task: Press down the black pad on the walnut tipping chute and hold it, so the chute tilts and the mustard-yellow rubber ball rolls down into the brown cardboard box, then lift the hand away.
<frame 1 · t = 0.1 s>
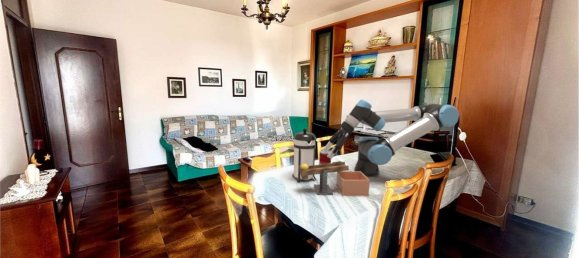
hand: (326, 154, 136), 15 cm above the table, tool tilted 35°, fingers open, 13 cm apart
coffee press: (302, 178, 142), on the table
ball: (304, 167, 122), point 12 cm above the table, tilted 10°, touching tipping chute
tipping chute: (322, 167, 125), point 11 cm above the table, hinge at -7.0°, touching ball
chute stand: (322, 190, 124), on the table
brown cardboard box: (351, 190, 125), on the table
canned food: (324, 167, 162), on the table
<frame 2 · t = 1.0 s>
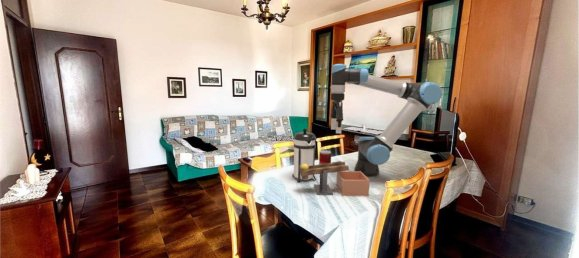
hand: (335, 131, 136), 29 cm above the table, tool pointing down, fingers open, 12 cm apart
nothing on the table moved.
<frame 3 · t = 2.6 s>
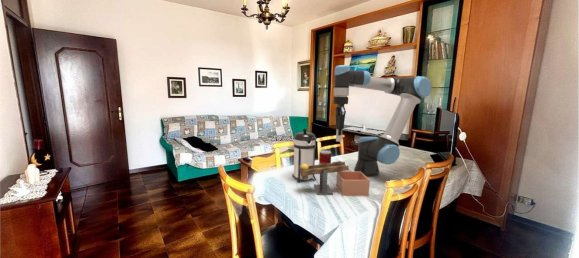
hand: (338, 141, 127), 25 cm above the table, tool pointing down, fingers closed
nothing on the table moved.
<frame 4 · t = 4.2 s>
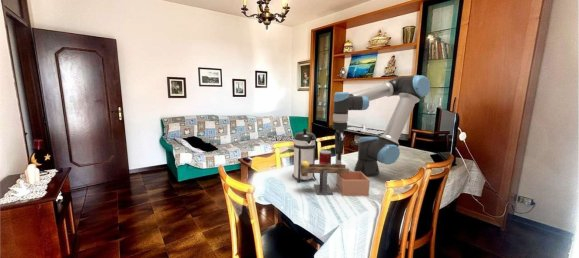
hand: (338, 165, 129), 12 cm above the table, tool pointing down, fingers closed
ball: (305, 164, 122), point 14 cm above the table, touching tipping chute
tipping chute: (322, 167, 125), point 11 cm above the table, hinge at 1.4°, touching ball, gripper
everything else where it was.
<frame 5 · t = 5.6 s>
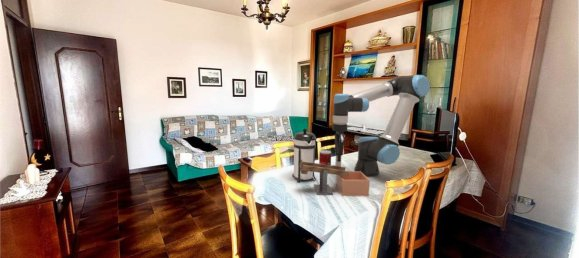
hand: (338, 166, 129), 11 cm above the table, tool pointing down, fingers closed
ball: (344, 184, 124), point 3 cm above the table, tilted 172°, touching brown cardboard box
tipping chute: (322, 167, 125), point 11 cm above the table, hinge at 7.9°, touching gripper
everything else where it was.
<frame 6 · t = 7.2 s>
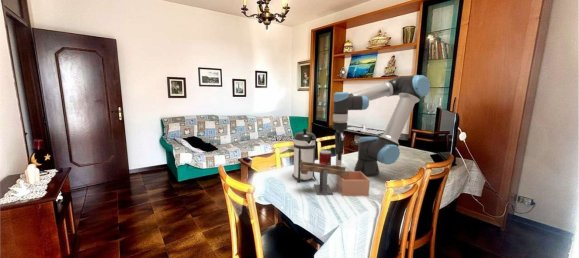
hand: (338, 165, 129), 12 cm above the table, tool pointing down, fingers closed
ball: (349, 184, 124), point 3 cm above the table, tilted 108°, touching brown cardboard box
tipping chute: (322, 167, 125), point 11 cm above the table, hinge at 7.9°
everything else where it was.
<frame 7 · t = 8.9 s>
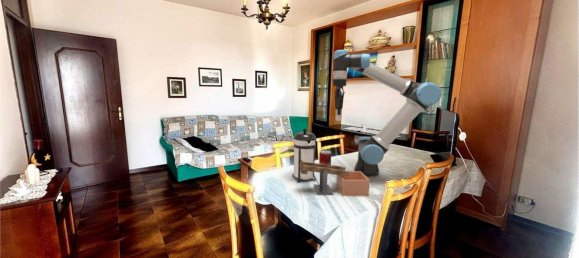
hand: (338, 120, 139), 34 cm above the table, tool pointing down, fingers closed
ball: (353, 184, 124), point 3 cm above the table, tilted 39°, touching brown cardboard box
everything else where it was.
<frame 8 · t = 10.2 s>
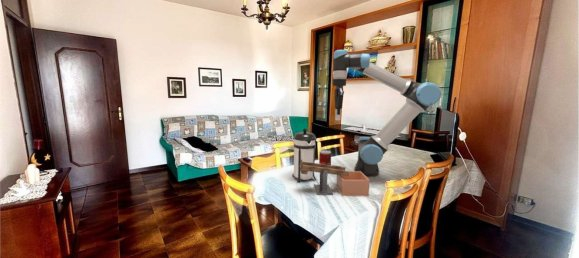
hand: (337, 120, 139), 34 cm above the table, tool pointing down, fingers closed
ball: (357, 184, 124), point 3 cm above the table, tilted 14°, touching brown cardboard box
everything else where it was.
at the end: ball inside the target area on the brown cardboard box (3.0 cm from its centre), point 3.0 cm above the brown cardboard box's base; ball point 3.0 cm above the table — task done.
